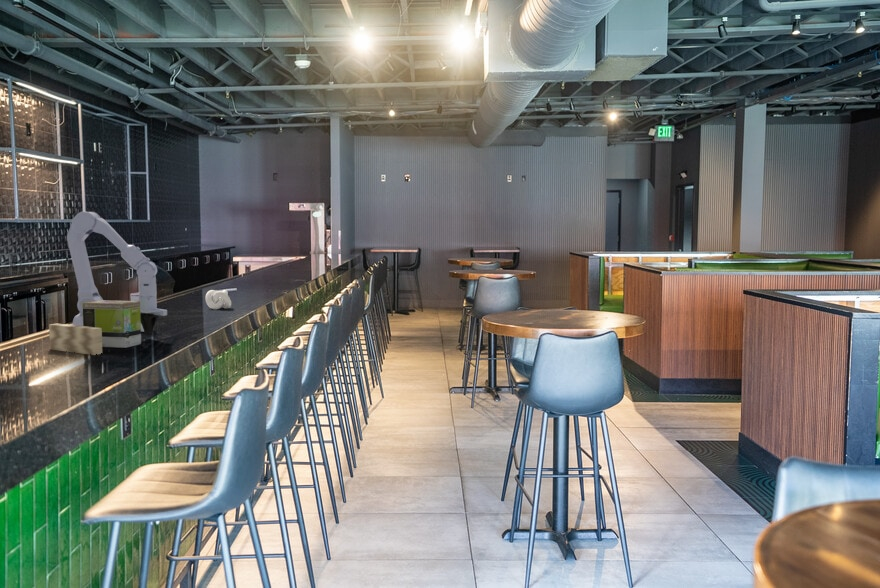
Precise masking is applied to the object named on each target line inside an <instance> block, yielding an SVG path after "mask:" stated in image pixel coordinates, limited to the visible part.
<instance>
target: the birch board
mask: <svg viewBox="0 0 880 588" xmlns="http://www.w3.org/2000/svg"><path fill="white" fill-rule="evenodd" d="M48 327H49V330H48V332H49V350H52V351H61V352H66V351H67V353H74V352H75V353H74V354H83V355H90V354H91V356H96V354H97V355H101V353H102V354H103V347H102V328H96V327H86V326H77V325H73V324H67V323H51V324H48Z"/></svg>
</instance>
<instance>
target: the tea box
mask: <svg viewBox="0 0 880 588" xmlns="http://www.w3.org/2000/svg"><path fill="white" fill-rule="evenodd" d="M83 326H86V327H96V328H102V348H118V349H119V348H121V349H123V348H130V347H135V346H138V345H139V346H140V345H141V344H142V332H141V318H140V301H131V300H107V299H106V300H104V299H103V300H100V301H92V302H85V303H83Z"/></svg>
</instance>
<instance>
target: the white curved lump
mask: <svg viewBox="0 0 880 588" xmlns="http://www.w3.org/2000/svg"><path fill="white" fill-rule="evenodd" d="M228 291H229V290H227V289H223V290H215V289H210V290H208V291H207V292H206V294H205V297H204V298H205V303H206V305H207V306H208V307H209V308H210V309H212V310H220V309H221V308H224V309H230V308H231V307H232V300H231V298H230V296H229V295H228V294H229V292H228Z"/></svg>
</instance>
